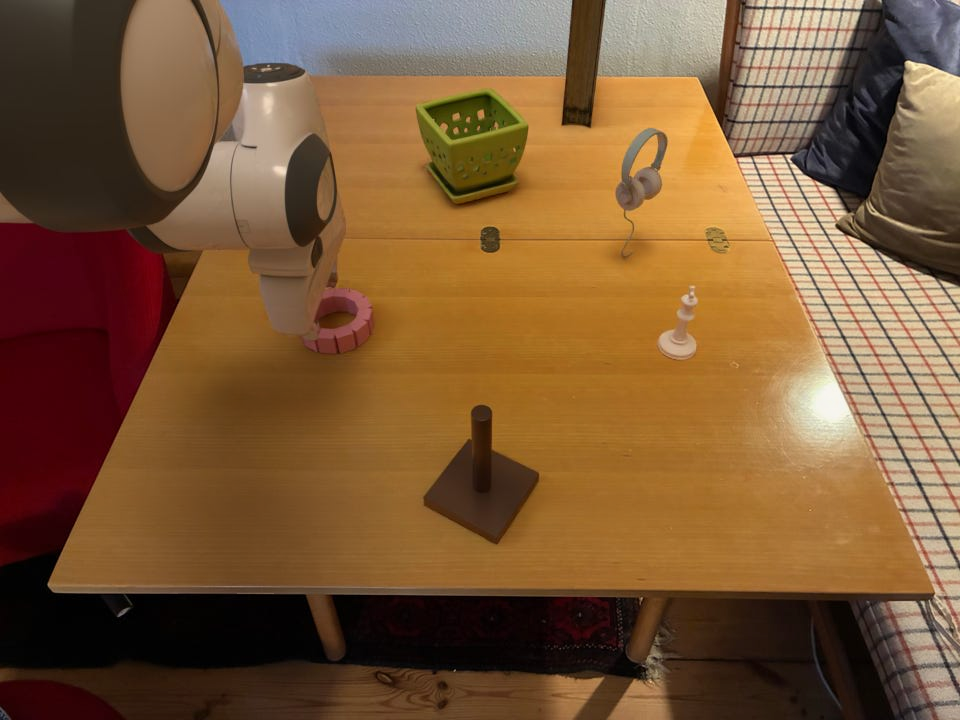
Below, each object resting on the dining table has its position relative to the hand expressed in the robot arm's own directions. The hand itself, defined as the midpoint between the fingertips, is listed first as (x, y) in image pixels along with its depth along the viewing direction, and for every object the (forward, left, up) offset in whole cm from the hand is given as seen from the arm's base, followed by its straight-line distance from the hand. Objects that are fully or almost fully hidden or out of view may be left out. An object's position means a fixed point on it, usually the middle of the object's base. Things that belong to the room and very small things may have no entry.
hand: (321, 309), depth 85 cm
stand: (-9, -28, -7) cm, 30 cm away
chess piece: (+23, -38, -7) cm, 45 cm away
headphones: (+37, -25, -7) cm, 46 cm away
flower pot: (+42, +5, -7) cm, 43 cm away
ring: (+3, +2, -7) cm, 8 cm away
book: (+76, +1, -7) cm, 76 cm away
